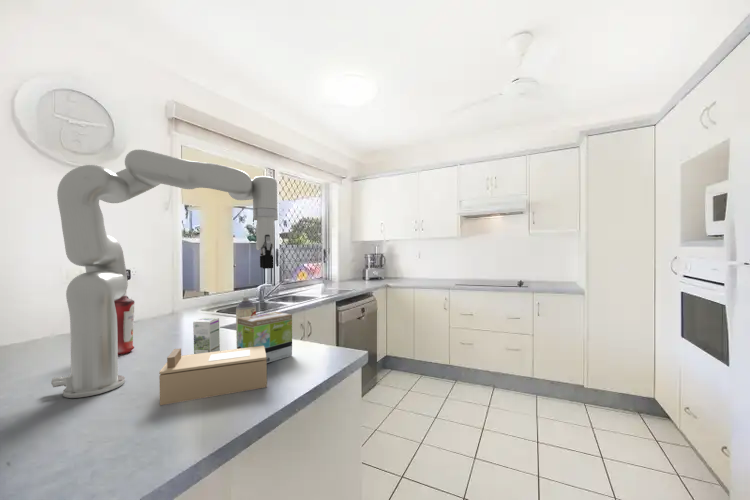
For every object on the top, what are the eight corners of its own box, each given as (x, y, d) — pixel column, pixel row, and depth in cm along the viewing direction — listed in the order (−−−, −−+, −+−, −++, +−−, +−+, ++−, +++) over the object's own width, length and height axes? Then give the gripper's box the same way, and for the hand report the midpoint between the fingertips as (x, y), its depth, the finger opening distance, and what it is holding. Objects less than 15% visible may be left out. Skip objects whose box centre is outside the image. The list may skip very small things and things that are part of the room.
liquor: (115, 351, 120) (114, 277, 121) (138, 348, 123) (137, 276, 123) (105, 356, 113) (105, 278, 114) (130, 354, 116) (129, 278, 116)
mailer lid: (159, 374, 75) (159, 361, 75) (170, 359, 86) (170, 347, 86) (266, 359, 84) (266, 347, 84) (264, 347, 95) (264, 337, 95)
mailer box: (159, 405, 75) (159, 375, 75) (171, 386, 86) (170, 360, 86) (266, 387, 84) (266, 360, 84) (264, 371, 95) (264, 348, 95)
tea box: (254, 369, 98) (253, 321, 98) (236, 362, 104) (236, 317, 104) (293, 355, 110) (292, 313, 110) (275, 351, 116) (275, 310, 116)
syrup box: (220, 360, 106) (220, 317, 107) (210, 366, 100) (209, 321, 101) (204, 360, 107) (204, 317, 107) (193, 366, 101) (192, 321, 101)
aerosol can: (255, 353, 113) (254, 297, 113) (234, 355, 111) (233, 298, 112) (258, 348, 120) (257, 295, 120) (238, 349, 118) (237, 296, 118)
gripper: (251, 218, 109) (252, 267, 109) (254, 211, 93) (255, 269, 93) (274, 218, 112) (275, 266, 112) (281, 212, 96) (282, 268, 96)
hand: (266, 267), depth 102 cm, fingers open, 9 cm apart
